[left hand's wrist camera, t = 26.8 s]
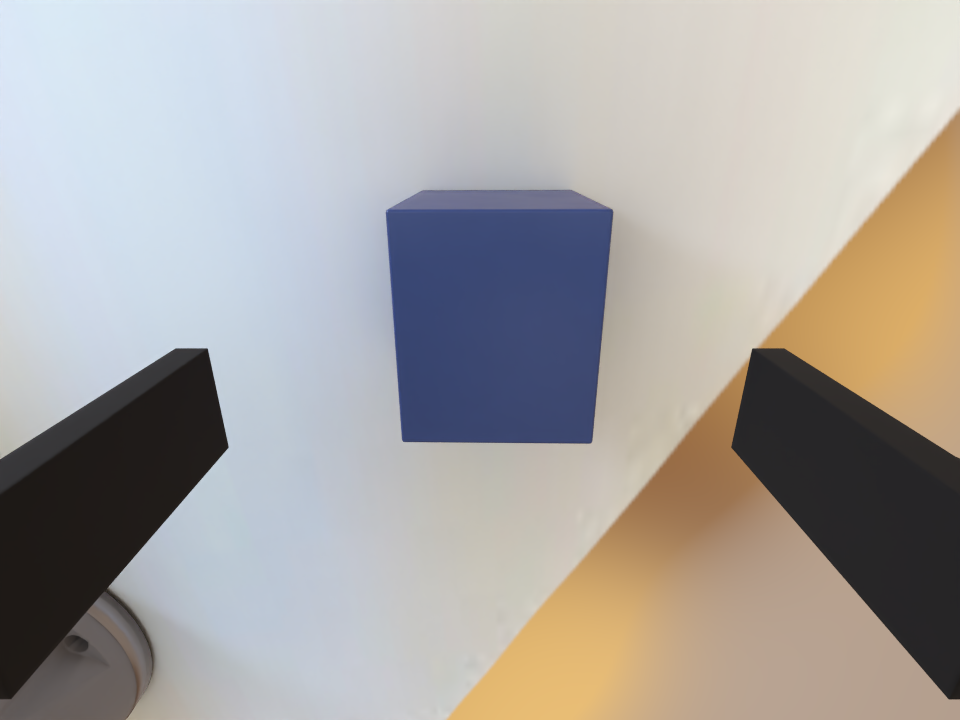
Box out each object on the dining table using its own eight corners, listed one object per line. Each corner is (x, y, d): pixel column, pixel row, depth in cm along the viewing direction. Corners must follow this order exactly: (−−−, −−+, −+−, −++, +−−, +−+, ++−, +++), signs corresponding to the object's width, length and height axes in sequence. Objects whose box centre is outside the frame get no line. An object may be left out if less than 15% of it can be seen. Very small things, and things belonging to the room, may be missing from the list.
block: (573, 190, 22) (614, 209, 15) (562, 357, 25) (592, 444, 17) (420, 190, 22) (385, 209, 15) (428, 357, 25) (401, 443, 18)
